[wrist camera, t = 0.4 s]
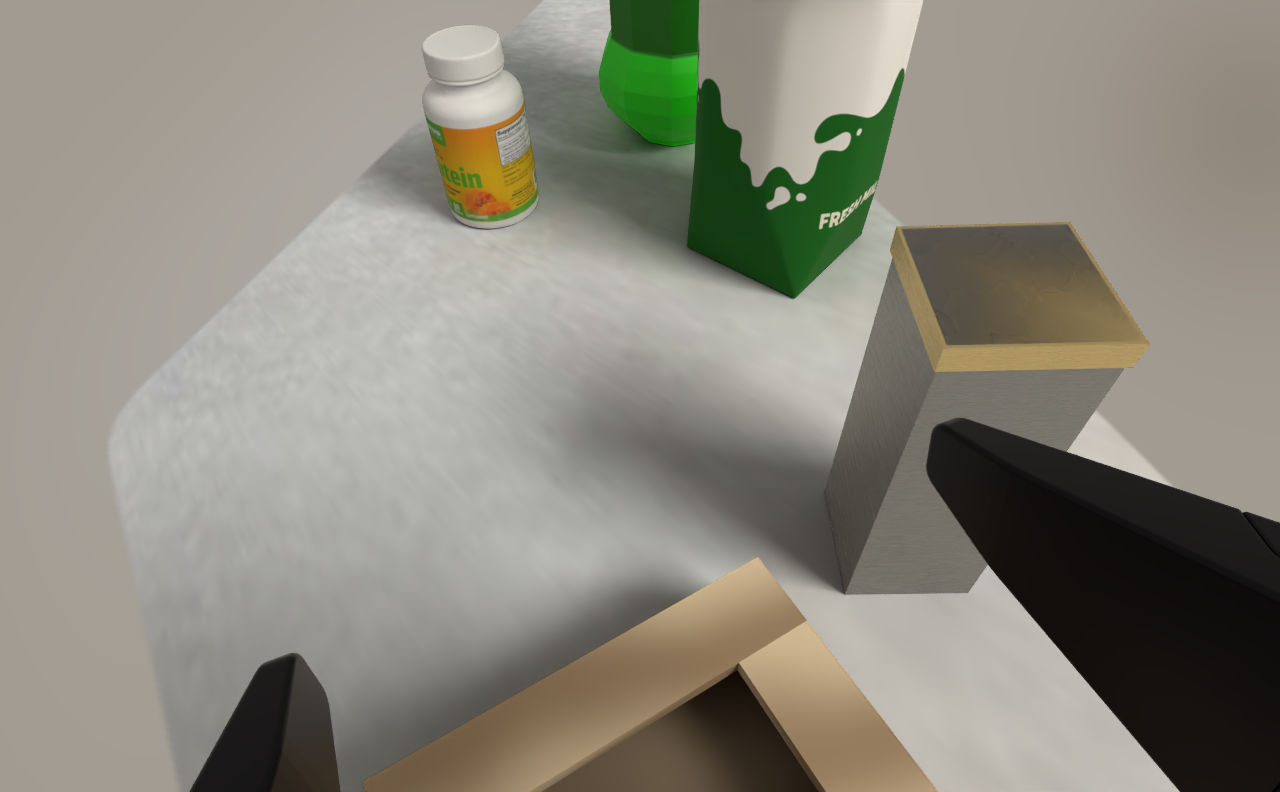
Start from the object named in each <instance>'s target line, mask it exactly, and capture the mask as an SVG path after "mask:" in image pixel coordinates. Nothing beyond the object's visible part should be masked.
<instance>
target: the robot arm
mask: <svg viewBox="0 0 1280 792" xmlns="http://www.w3.org/2000/svg"><path fill="white" fill-rule="evenodd" d="M926 471H927V475H928V478H929V480H930V482H931V483H932V485H933V486H934V488H935V489H936V491H937V492H938V494H939V495H940V497H941V498H942V499H943V501H944V502H945V504H946V505H947V507H948V508H949V510H950V511H951V513H952V514H953V515H954V517H955V518H956V520H957V521H958V523H959V524H960V526H961V527H962V529H963V530H964V531H965V533H966V534H967V536H968V537H969V539H970V540H971V542H972V543H973V545H974V546H975V547H976V549H977V550H978V552H979V553H980V554H981V556H982V557H983V559H984V560H985V561H986V563H987V564H988V565H989V567H990V568H991V569H992V570H993V571H994V573H995V574H996V575H997V576H998V578H999V579H1000V580H1001V581H1002V582H1003V584H1004V585H1005V586H1006V587H1007V588H1008V589H1009V591H1010V592H1011V593H1012V594H1013V595H1014V597H1015V598H1016V599H1017V600H1018V601H1019V602H1020V604H1021V605H1022V606H1023V607H1024V608H1025V610H1026V611H1027V612H1028V613H1029V614H1030V615H1031V617H1032V618H1033V619H1034V620H1035V621H1036V623H1037V624H1038V625H1039V626H1040V627H1041V628H1042V630H1043V631H1044V632H1045V633H1046V634H1047V635H1048V637H1049V638H1050V639H1051V640H1052V641H1053V643H1054V644H1055V645H1056V646H1057V647H1058V648H1059V650H1060V651H1061V652H1062V653H1063V654H1064V656H1065V657H1066V658H1067V659H1068V660H1069V661H1070V663H1071V664H1072V665H1073V666H1074V667H1075V669H1076V670H1077V671H1078V672H1079V673H1080V674H1081V676H1082V677H1083V678H1084V679H1085V680H1086V682H1087V683H1088V684H1089V685H1090V686H1091V687H1092V689H1093V690H1094V691H1095V692H1096V693H1097V694H1098V696H1099V697H1100V698H1101V699H1102V700H1103V702H1104V703H1105V704H1106V705H1107V706H1108V707H1109V709H1110V710H1111V711H1112V712H1113V713H1114V715H1115V716H1116V717H1117V718H1118V719H1119V720H1120V722H1121V723H1122V724H1123V725H1124V726H1125V728H1126V729H1127V730H1128V731H1129V732H1130V733H1131V735H1132V736H1133V737H1134V738H1135V739H1136V741H1137V742H1138V743H1139V744H1140V745H1141V746H1142V748H1143V749H1144V750H1145V751H1146V752H1147V754H1148V755H1149V756H1150V757H1151V758H1152V759H1153V761H1154V762H1155V763H1156V764H1157V765H1158V766H1159V768H1160V769H1161V770H1162V771H1163V772H1164V774H1165V775H1166V776H1167V777H1168V778H1169V779H1170V781H1171V782H1172V783H1173V784H1174V785H1175V787H1176V788H1177V789H1178V790H1179V791H1180V792H1280V523H1279V522H1276V521H1273V520H1270V519H1267V518H1264V517H1261V516H1258V515H1255V514H1252V513H1249V512H1243V513H1242V512H1241V511H1240V510H1239V509H1236V508H1234V507H1231V506H1228V505H1224V504H1221V503H1219V502H1215V501H1212V500H1210V499H1206V498H1203V497H1200V496H1197V495H1195V494H1191V493H1189V492H1186V491H1182V490H1180V489H1177V488H1174V487H1171V486H1168V485H1165V484H1162V483H1159V482H1156V481H1152V480H1149V479H1146V478H1143V477H1140V476H1137V475H1134V474H1131V473H1128V472H1125V471H1122V470H1119V469H1116V468H1113V467H1110V466H1107V465H1104V464H1101V463H1098V462H1095V461H1092V460H1089V459H1086V458H1083V457H1080V456H1077V455H1074V454H1071V453H1068V452H1065V451H1062V450H1059V449H1056V448H1053V447H1050V446H1047V445H1044V444H1041V443H1038V442H1035V441H1032V440H1029V439H1026V438H1023V437H1020V436H1017V435H1014V434H1011V433H1008V432H1005V431H1002V430H999V429H996V428H993V427H990V426H987V425H984V424H981V423H978V422H975V421H972V420H969V419H966V418H961V417H960V418H954V419H951V420H948V421H945V422H943V423H940V424H937V425H936V426H935V427H934V428H933V430H932V432H931V437H930V443H929V449H928V455H927V461H926ZM190 792H340V785H339V778H338V770H337V762H336V755H335V747H334V739H333V732H332V724H331V716H330V709H329V703H328V699H327V696H326V693H325V691H324V689H323V687H322V685H321V684H320V682H319V681H318V679H317V678H316V676H315V675H314V674H313V672H312V671H311V669H310V668H309V666H308V665H307V663H306V662H305V660H304V659H303V658H302V656H300V655H299V654H297V653H290V654H287V655H284V656H282V657H279V658H276V659H273V660H270V661H268V662H265V663H264V664H262V665H261V666H260V667H259V668H258V670H257V671H256V673H255V675H254V676H253V678H252V680H251V682H250V684H249V685H248V687H247V689H246V691H245V693H244V694H243V696H242V698H241V700H240V702H239V703H238V705H237V707H236V709H235V711H234V712H233V714H232V716H231V718H230V720H229V721H228V723H227V725H226V727H225V729H224V730H223V732H222V734H221V736H220V738H219V739H218V741H217V743H216V745H215V747H214V748H213V750H212V752H211V754H210V756H209V757H208V759H207V761H206V763H205V765H204V766H203V768H202V770H201V772H200V774H199V775H198V777H197V779H196V781H195V783H194V784H193V786H192V788H191V790H190Z"/></svg>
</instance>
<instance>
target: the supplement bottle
mask: <svg viewBox="0 0 1280 792" xmlns="http://www.w3.org/2000/svg"><path fill="white" fill-rule="evenodd" d="M422 52H423V56H424V61H425V65H426V69H427V71H428V74H429V76H430V78H431V79H432V81H430V82H429V84H428V85H427V87H426V88H425V90H424V93H423V98H422V103H423V108H424V113H425V116H426V120H427V124H428V127H429V131H430V134H431V138H432V142H433V146H434V149H435V153H436V157H437V161H438V164H439V168H440V172H441V176H442V179H443V183H444V187H445V191H446V194H447V198H448V202H449V205H450V209H451V211H452V213H453V215H454V216H455V217H456V218H457V219H458V220H459V221H460V222H462V223H464V224H466V225H469V226H472V227H476V228H486V229H492V228H501V227H506V226H510V225H513V224H515V223H518V222H520V221H521V220H523V219H524V218H526V217H527V216H528V215H530V214H531V213H532V212H533V210H534V209H535V207H536V205H537V203H538V198H539V193H538V185H537V178H536V172H535V166H534V160H533V153H532V147H531V140H530V135H529V129H528V122H527V116H526V109H525V103H524V97H523V93H522V88H521V86H520V84H519V82H518V80H517V79H516V78H515V77H514V76H513V75H512V74H511V73H509V72H508V71H506V70H504V69H503V67H504V54H503V50H502V45H501V40H500V37H499V35H498V33H497V32H495V31H494V30H492V29H490V28H487V27H483V26H478V25H462V26H455V27H449V28H446V29H443V30H440V31H437V32H435V33H433V34H431V35H430V36H428V37H427V38H426V39H425V40H424V42H423V44H422Z"/></svg>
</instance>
